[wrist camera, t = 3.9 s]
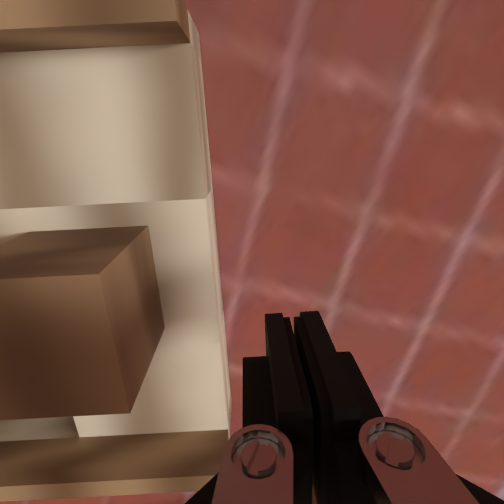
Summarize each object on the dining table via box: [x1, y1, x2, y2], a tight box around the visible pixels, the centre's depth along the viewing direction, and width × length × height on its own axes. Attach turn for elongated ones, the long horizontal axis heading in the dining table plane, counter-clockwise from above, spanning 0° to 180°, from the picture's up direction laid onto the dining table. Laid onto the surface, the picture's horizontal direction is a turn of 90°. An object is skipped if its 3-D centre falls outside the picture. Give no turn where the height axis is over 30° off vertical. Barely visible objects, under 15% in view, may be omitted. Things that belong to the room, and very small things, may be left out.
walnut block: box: [0, 226, 165, 420], centre depth 12 cm, size 5×5×5 cm
